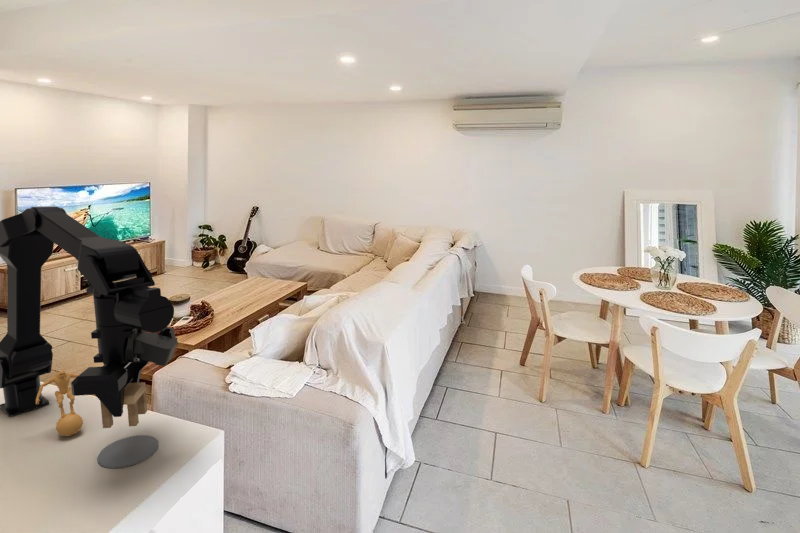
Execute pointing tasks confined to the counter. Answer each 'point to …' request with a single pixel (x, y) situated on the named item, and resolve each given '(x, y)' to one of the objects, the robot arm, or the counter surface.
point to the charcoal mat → (128, 451)
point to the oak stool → (129, 405)
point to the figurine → (67, 422)
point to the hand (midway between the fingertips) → (124, 408)
